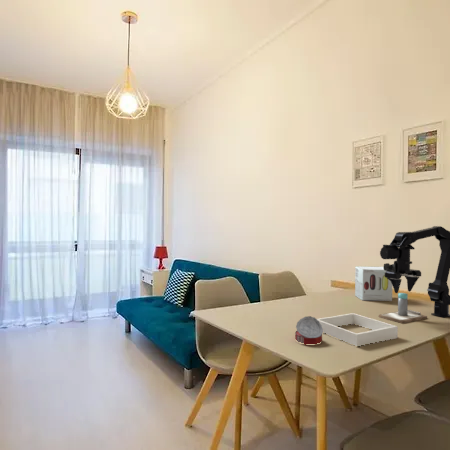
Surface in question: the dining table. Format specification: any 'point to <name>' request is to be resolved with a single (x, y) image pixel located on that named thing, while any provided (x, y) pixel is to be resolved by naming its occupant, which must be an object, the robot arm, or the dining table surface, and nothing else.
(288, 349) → the dining table surface
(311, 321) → the canned food
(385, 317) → the clipboard
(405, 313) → the marker
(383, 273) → the supplement box
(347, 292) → the dining table surface
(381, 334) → the lotus tray rim
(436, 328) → the dining table surface
